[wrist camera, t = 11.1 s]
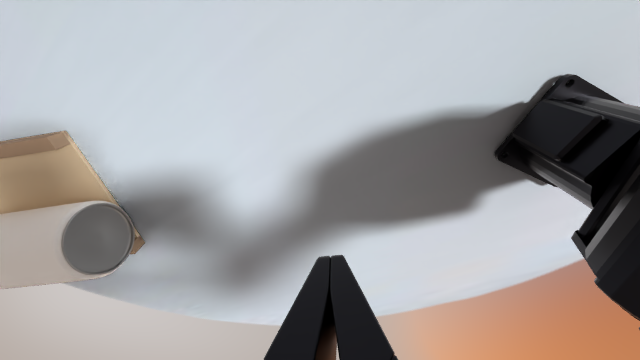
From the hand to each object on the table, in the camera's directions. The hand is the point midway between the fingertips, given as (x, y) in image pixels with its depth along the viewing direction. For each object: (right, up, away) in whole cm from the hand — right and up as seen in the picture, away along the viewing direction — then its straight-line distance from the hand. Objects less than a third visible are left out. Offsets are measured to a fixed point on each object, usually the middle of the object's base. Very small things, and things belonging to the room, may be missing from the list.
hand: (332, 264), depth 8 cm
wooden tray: (-26, +1, +15) cm, 30 cm away
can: (-18, -2, +12) cm, 22 cm away
